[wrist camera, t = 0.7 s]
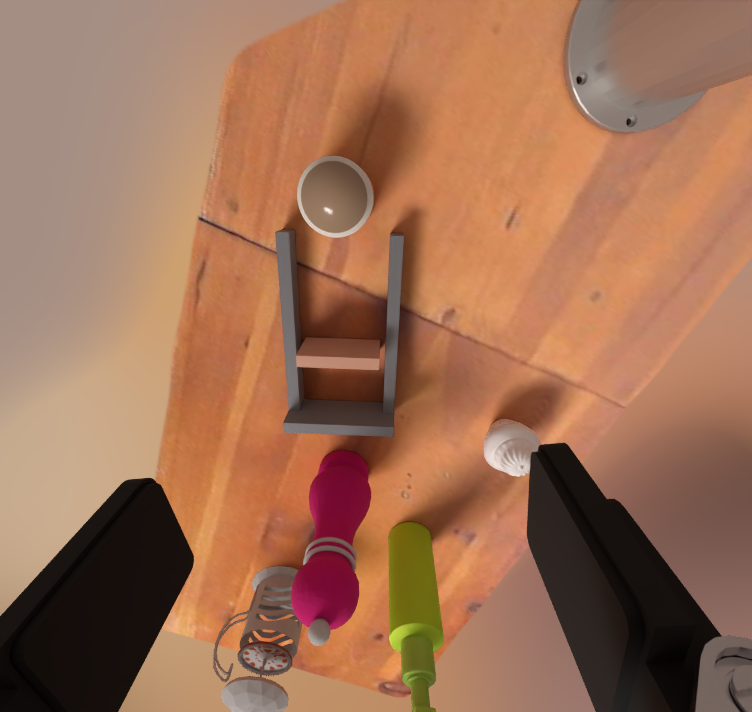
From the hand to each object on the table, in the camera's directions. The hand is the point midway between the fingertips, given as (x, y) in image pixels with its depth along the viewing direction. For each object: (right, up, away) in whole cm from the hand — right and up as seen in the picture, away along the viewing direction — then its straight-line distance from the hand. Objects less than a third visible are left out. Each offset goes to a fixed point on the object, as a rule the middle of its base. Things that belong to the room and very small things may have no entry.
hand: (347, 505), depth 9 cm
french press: (-14, -31, +48) cm, 59 cm away
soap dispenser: (+5, -22, +43) cm, 48 cm away
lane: (-3, +7, +30) cm, 31 cm away
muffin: (+16, -5, +35) cm, 39 cm away
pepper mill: (-3, -11, +38) cm, 40 cm away
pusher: (-3, +5, +31) cm, 31 cm away
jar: (-2, +19, +25) cm, 31 cm away
